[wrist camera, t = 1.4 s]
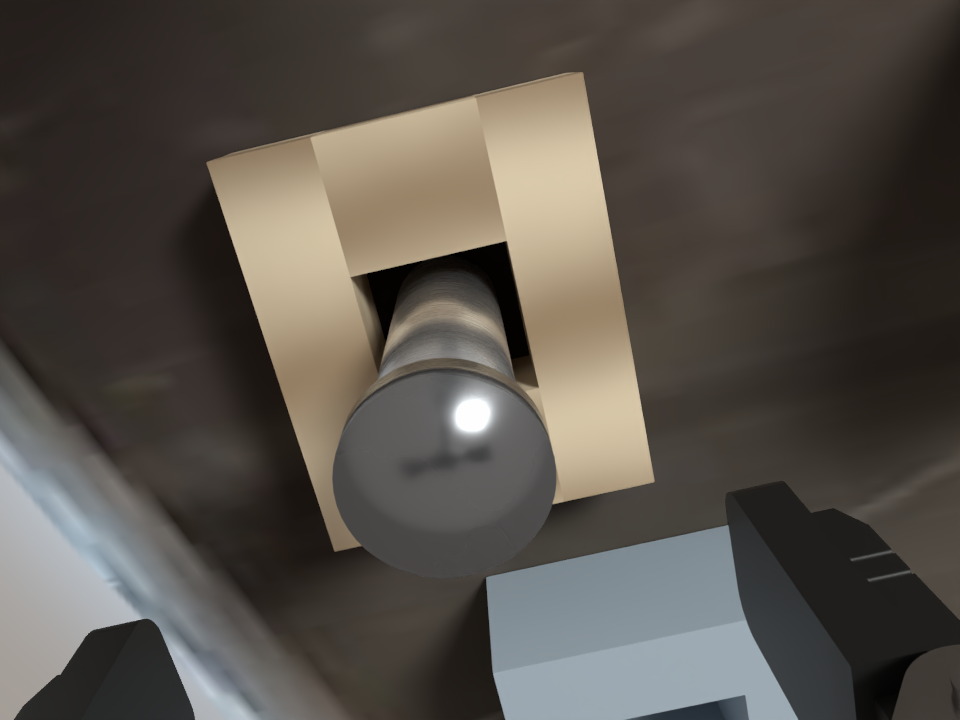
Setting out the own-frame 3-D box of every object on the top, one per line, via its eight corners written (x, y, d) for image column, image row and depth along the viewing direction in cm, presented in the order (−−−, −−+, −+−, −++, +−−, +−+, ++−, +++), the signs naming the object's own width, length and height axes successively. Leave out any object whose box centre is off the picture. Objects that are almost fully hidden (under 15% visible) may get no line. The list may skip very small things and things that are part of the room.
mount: (234, 152, 24) (206, 162, 22) (566, 72, 24) (582, 72, 21) (346, 504, 28) (334, 551, 25) (633, 440, 28) (654, 482, 25)
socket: (485, 577, 29) (492, 673, 25) (764, 517, 29) (825, 603, 24) (541, 788, 33) (557, 909, 28) (792, 737, 32) (851, 851, 27)
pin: (369, 259, 26) (304, 404, 14) (495, 230, 25) (531, 353, 14) (402, 377, 27) (366, 598, 15) (522, 350, 27) (575, 552, 15)
